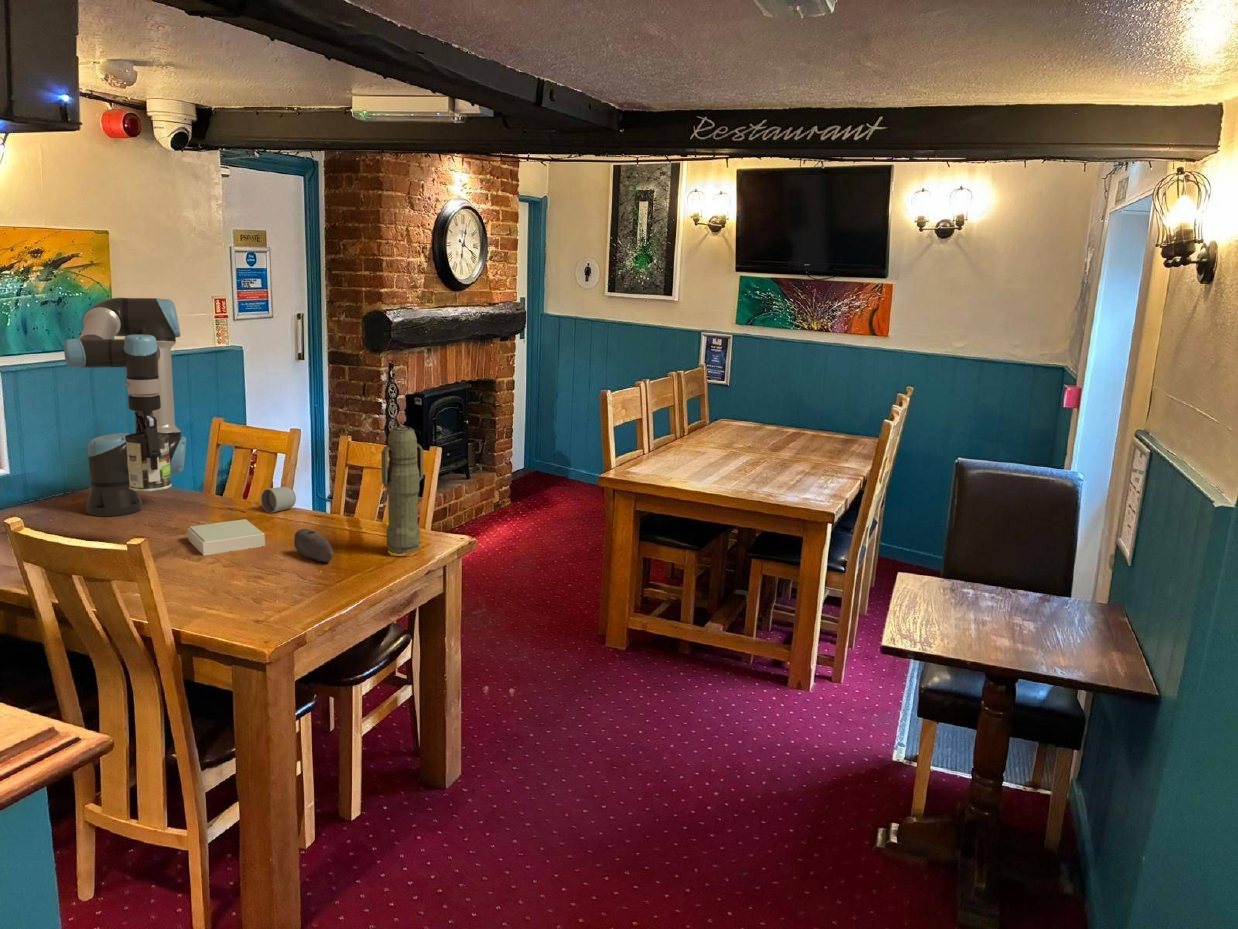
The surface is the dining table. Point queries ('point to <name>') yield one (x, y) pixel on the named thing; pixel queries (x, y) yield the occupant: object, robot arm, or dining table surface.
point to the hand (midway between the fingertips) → (149, 476)
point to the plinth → (225, 537)
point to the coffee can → (139, 463)
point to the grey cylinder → (277, 499)
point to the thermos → (402, 489)
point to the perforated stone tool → (313, 545)
